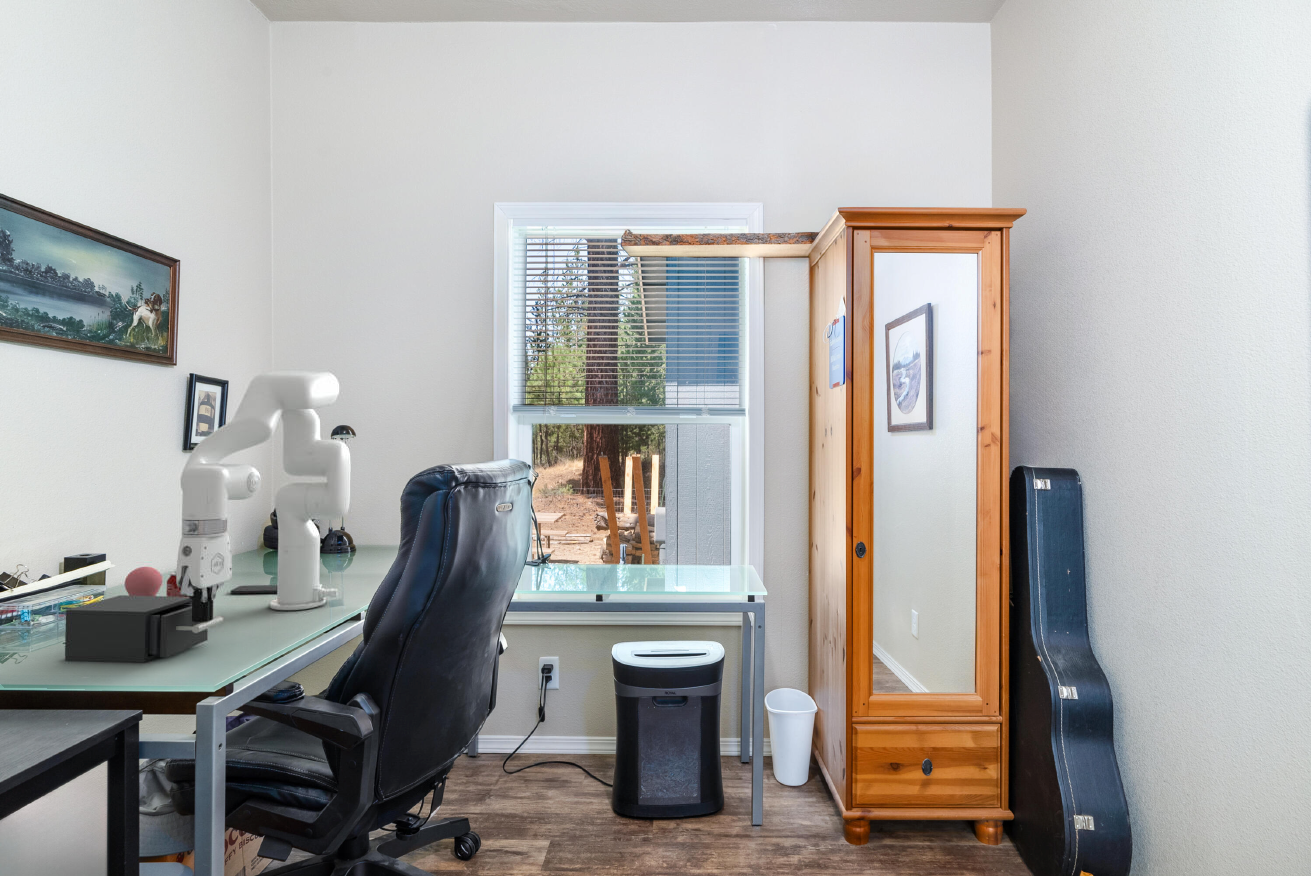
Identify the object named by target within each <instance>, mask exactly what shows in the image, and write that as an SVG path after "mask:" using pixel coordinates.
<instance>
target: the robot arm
mask: <svg viewBox="0 0 1311 876" xmlns="http://www.w3.org/2000/svg"><path fill="white" fill-rule="evenodd" d="M339 393H340V384H339V380H338V379H337V377H336V376H335V375H334V374H333V373H331V372H329V371H319V370H318V371H317V370H316V371H314V370H313V371H312V370H311V371H310V370H276V371H271V372H265V373H260V374H257V375H256V376H254V377H253V378H252V380H251V381H250V383H249V385H248V387H247V389H246V391H245V393H244V394H243V397H242V398H241V401H240V403H239V405H238V407H237V410H236V412H235V413H234V416H233V417H232V419H231V420H230V421H229V422H227V423H225V424H224V425H221V427H218V428H217V429H216V430H215V431H212V432H211V433H210V434H209V435H207V436H206V437H204V438H203V439H201V441H199V443H197V444H196V446H194V448H193V450H192V451H191V453H190V454H189V456H188V459H187V461H186V462H185V464H184V467H183V469H182V472H181V476H180V489H181V491H182V496H181V497H182V500H181V503H182V505H181V537H180V541H179V547H178V551H177V560H176V571H177V572H176V580H177V585H178V587H180V588H181V593H180V594H181V595H182V596H189V597H190V602H192V621H193V622H208V621H210V620H212V619H213V618H214V600H215V599H216V596H217V591H218V590H219V589H220V588H221V587H222V586H224V585H225V583H227V582H228V581H229V580H231V578H232V575H233V563H232V562H233V561H232V560H233V559H232V545H231V540H230V535H229V532H228V506H229V505H228V502H229V501H233V500H234V501H239V500H247V499H249V498H252V497H253V496H255V495H256V494H257V493H258V491H259V490H260V488H261V485H262V477H261V474H260V473H259V471H258V470H257V469H256V468H255V467H254V466H251V465H249V464H245V463H220V462H221V461H222V460H224V459H226V458H227V457H228V456H231V455H232V454H235V453H237V452H240V451H244V450H247V449H250V448H252V447H255V446H258V445H261V444H263V443H265V442H267V441H269V440H270V439H271V438H272V437H273V435H274V433H275V430H276V428H277V426H278V423H279V421H280V419H281V422H282V467H283V470H284V472H285V473H286V474H288V475H290V476H292V477H293V476H294V477H310V478H311V477H315V478H318V477H321V478H326V481H290V482H287V483H284V484H282V485H280V486H279V487H278V488H277V489H276V491H275V494H274V507H275V513H276V517H277V518H276V519H277V528H278V529H277V531H278V533H277V534H278V537H277V539H278V541H277V584H276V585H277V593H276V594H277V595H276V599H273V600H272V601H270V602H269V607H270V609H272V610H275V611H299V610H301V611H302V610H309V609H313V608H318V607H321V606H324V604H326V598H337V597H338V592H339V590H338V588H335V589H334V588H324V587H323V584H322V583H320V562H321V561H320V559H321V535H320V532H319V529H318V528H317V526H316V525H315V523H314V521H313V520H340V519H342V518H344V517H345V516H346V515H347V514H348V512H349V510H350V504H351V476H352V475H351V472H352V471H351V469H352V468H351V467H352V464H351V462H352V461H351V460H352V459H351V454H350V453H351V452H350V450H349V447H348V446H347V444H346V443H345V442H344V441H341V440H337V439H322V438H321V421H320V417H319V415H318V414H317V412H316V411H315V409H320V408H324V407H329V406H331V405H332V404H334V403H335V402H336V401H337V399H338V397H339Z"/></svg>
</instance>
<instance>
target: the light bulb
mask: <svg viewBox="0 0 1311 876" xmlns="http://www.w3.org/2000/svg"><path fill="white" fill-rule="evenodd" d="M162 585H163V576H162V574H161V572H160V571H159V570H158V569H156V568H154V567H152V566H140V567H137V568H135V569H133V570H132V571H130V572H129V573H128V574H127V576H126V577H125V580H124V588H125V591H126V593H127V594H128V596H157V594H158V593H159V591H160V588H161V587H162Z"/></svg>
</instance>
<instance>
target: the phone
mask: <svg viewBox="0 0 1311 876" xmlns="http://www.w3.org/2000/svg"><path fill="white" fill-rule="evenodd" d="M277 585H278V584H267V585H266V584H259V585H258V584H257V585H255V584H254V585H253V584H251V585H250V584H249V585H248V584H247V585H239V586H236V587H234V588H233V589H230V594H277Z"/></svg>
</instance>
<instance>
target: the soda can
mask: <svg viewBox="0 0 1311 876" xmlns="http://www.w3.org/2000/svg"><path fill="white" fill-rule="evenodd" d="M176 572H177V570H175V571H171V572H170V573H169V575H170V576H169V577H168V579H167V580H166V595H165V596H170V597H189V596H182V595H181V594H180V593H181V588H180V587H178V585H177V580H176Z"/></svg>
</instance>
